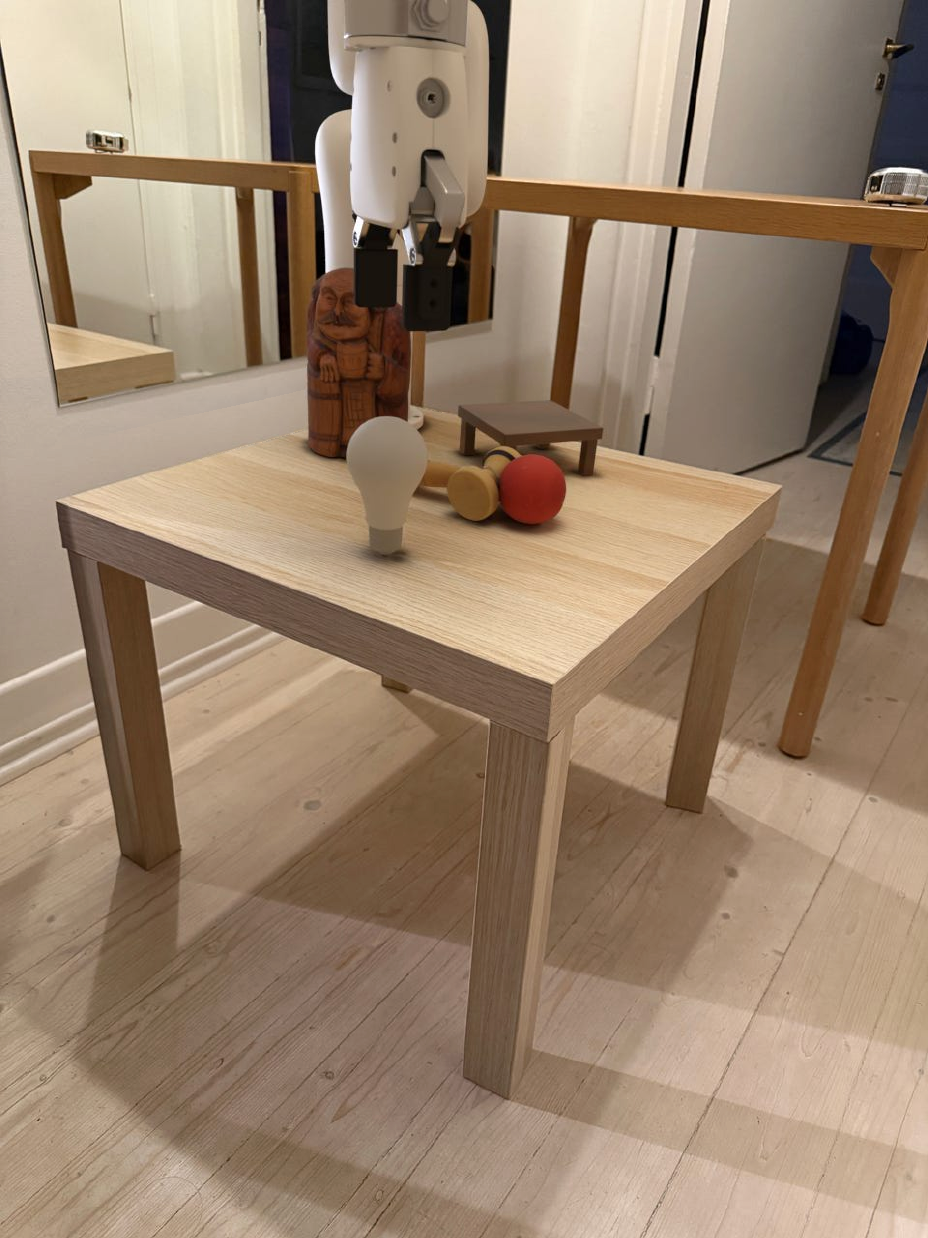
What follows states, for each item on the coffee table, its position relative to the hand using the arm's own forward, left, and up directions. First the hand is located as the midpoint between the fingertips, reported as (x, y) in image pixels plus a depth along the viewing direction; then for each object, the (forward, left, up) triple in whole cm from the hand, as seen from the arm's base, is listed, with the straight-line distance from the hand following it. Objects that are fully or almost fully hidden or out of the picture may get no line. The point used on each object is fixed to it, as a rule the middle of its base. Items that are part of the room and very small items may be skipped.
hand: (398, 317), depth 63 cm
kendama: (-9, +11, -18) cm, 23 cm away
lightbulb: (-1, 0, -18) cm, 18 cm away
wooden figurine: (-27, +6, -18) cm, 33 cm away
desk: (-19, +22, -18) cm, 34 cm away
